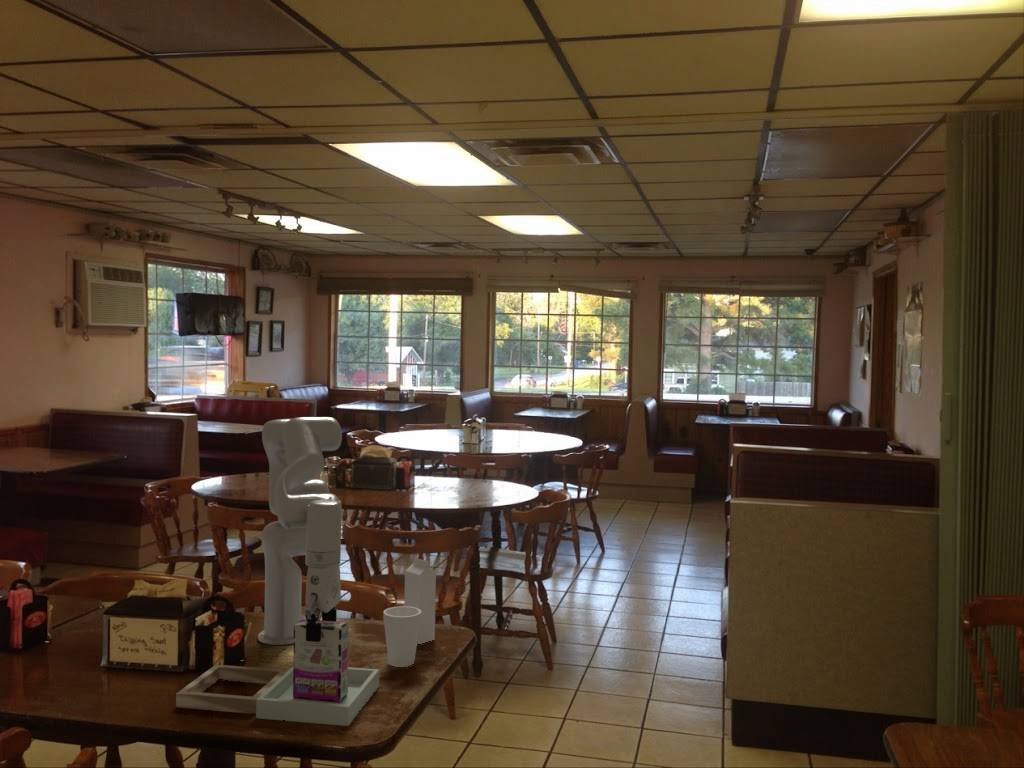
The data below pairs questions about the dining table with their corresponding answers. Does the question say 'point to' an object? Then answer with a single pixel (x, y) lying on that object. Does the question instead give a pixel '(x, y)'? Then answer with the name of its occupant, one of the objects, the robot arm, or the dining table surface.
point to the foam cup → (401, 634)
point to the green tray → (285, 707)
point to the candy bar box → (321, 663)
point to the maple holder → (221, 702)
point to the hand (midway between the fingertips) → (321, 633)
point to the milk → (422, 596)
